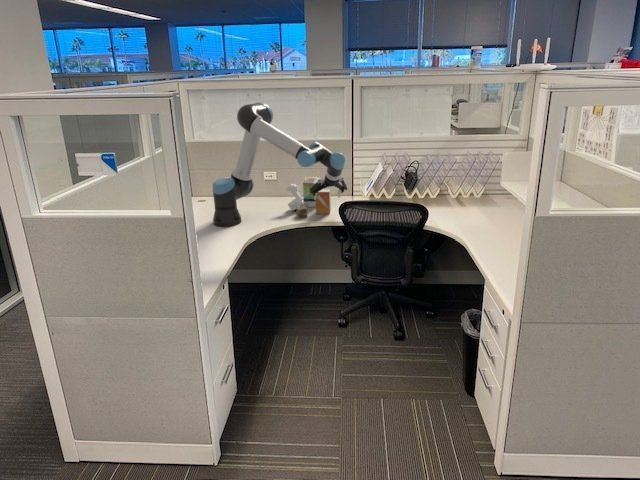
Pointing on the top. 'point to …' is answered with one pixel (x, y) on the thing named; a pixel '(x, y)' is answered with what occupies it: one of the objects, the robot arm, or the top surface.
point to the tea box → (309, 192)
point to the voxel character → (298, 198)
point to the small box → (323, 202)
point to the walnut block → (302, 212)
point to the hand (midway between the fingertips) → (326, 196)
